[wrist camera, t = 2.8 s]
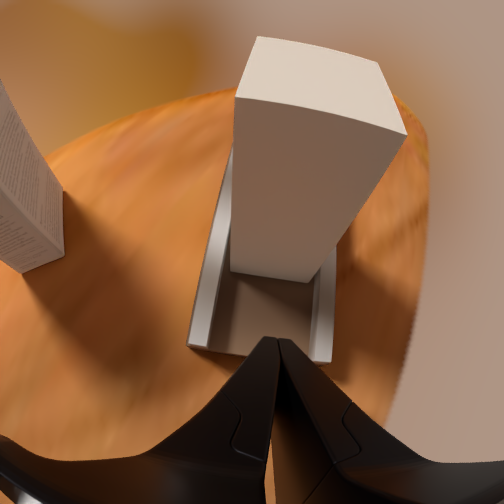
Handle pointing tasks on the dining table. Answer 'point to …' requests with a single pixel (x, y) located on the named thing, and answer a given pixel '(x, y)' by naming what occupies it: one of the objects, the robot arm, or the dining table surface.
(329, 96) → the slider block
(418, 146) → the dining table surface
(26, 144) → the skincare box
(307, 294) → the track
